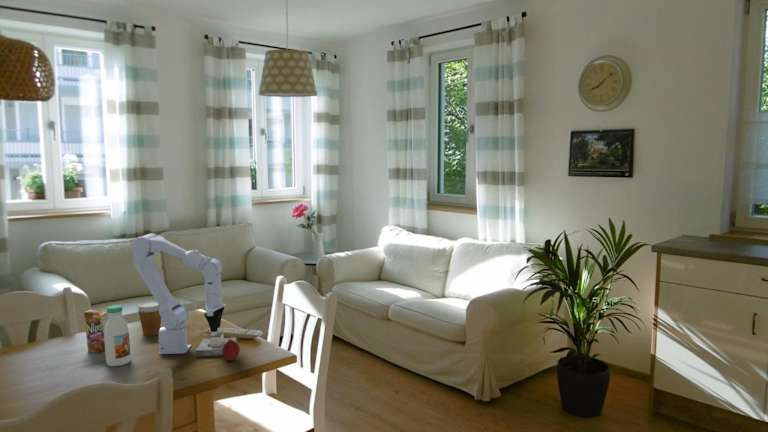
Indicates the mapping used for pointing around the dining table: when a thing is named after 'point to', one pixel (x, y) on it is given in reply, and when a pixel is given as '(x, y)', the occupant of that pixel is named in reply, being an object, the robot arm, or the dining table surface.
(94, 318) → the candy box
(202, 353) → the socket plate
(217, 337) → the plug
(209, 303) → the robot arm
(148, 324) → the disposable coffee cup
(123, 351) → the milk bottle
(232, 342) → the onion
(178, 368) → the dining table surface
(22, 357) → the dining table surface
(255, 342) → the dining table surface
